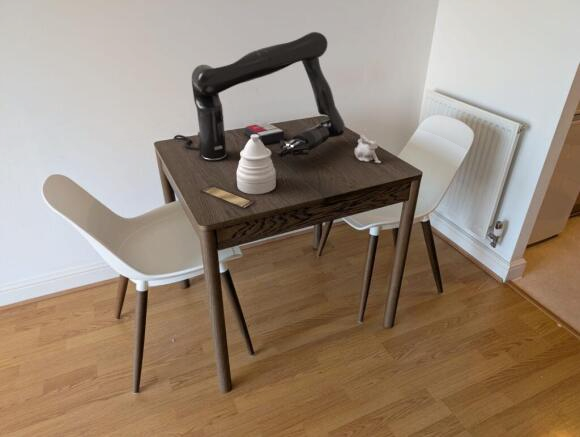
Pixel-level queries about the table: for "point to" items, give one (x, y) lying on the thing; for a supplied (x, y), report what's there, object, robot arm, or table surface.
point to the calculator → (265, 132)
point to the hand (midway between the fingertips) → (278, 154)
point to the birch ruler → (228, 197)
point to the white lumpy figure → (366, 150)
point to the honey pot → (255, 168)
